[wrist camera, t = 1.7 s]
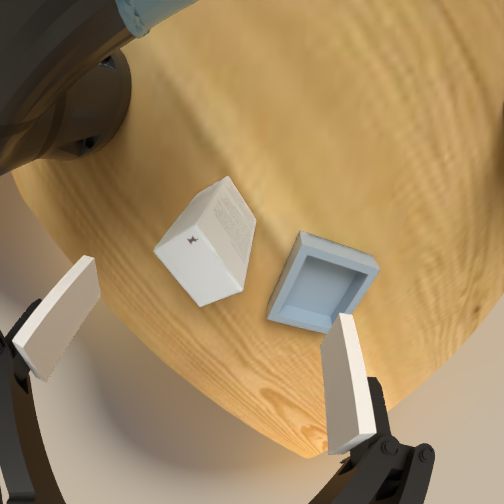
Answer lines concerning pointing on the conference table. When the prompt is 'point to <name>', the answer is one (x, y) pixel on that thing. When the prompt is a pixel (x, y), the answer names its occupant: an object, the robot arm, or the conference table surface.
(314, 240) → the blue-grey square tray
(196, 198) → the skincare box
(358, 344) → the robot arm
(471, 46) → the conference table surface
